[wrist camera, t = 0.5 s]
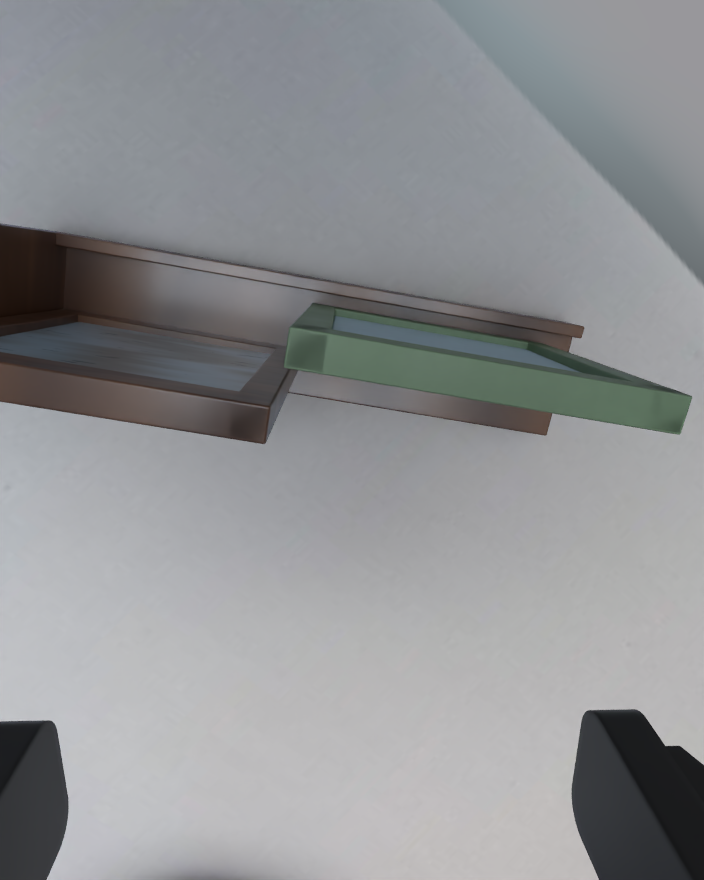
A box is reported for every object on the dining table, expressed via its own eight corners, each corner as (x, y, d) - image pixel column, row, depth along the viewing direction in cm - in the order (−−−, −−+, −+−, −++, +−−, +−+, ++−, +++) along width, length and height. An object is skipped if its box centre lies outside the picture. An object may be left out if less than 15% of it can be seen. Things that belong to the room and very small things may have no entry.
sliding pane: (543, 343, 32) (693, 396, 18) (537, 366, 32) (680, 435, 18) (312, 302, 31) (289, 326, 17) (308, 326, 31) (283, 368, 18)
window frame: (565, 322, 33) (778, 370, 17) (538, 429, 35) (709, 565, 18) (56, 231, 31) (-245, 188, 15) (50, 347, 33) (-229, 419, 17)
